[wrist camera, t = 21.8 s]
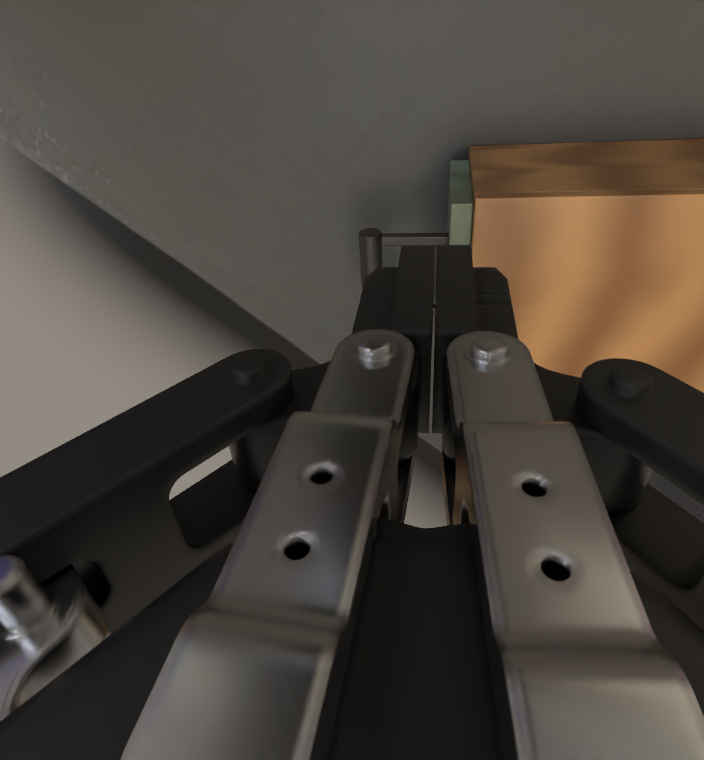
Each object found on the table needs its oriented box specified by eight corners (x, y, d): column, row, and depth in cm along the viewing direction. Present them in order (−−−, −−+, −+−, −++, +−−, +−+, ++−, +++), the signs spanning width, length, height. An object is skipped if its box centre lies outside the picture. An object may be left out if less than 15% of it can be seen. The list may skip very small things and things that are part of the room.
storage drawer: (373, 311, 43) (361, 371, 37) (365, 162, 36) (349, 205, 30) (629, 314, 40) (661, 379, 34) (674, 153, 34) (725, 198, 27)
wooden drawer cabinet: (459, 313, 43) (461, 389, 36) (469, 145, 36) (475, 198, 28) (657, 315, 41) (703, 397, 34) (713, 137, 34) (789, 192, 26)
